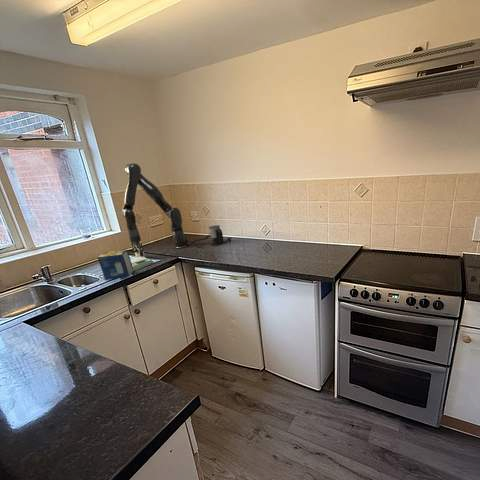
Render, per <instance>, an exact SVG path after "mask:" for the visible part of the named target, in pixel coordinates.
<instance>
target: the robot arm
mask: <svg viewBox="0 0 480 480" xmlns="http://www.w3.org/2000/svg"><path fill="white" fill-rule="evenodd" d="M124 172H125V173H126V175H127V176H128V183H127V186H126V189H125V194H124V201H123V205H122V211H121V212H122V213H121V215H122V216H123V217H124V219H125V222H126V223H125V227H126V230H127V234H128V238H129V241H130V243H131V247H132V250H133V251H134V254H135V253H136V252H140V256H141V257H143V256H144V255H145V254H144V255H143V251H145V250H144V246H143V243H142V242H141V241H142V239H141V234H140V231H139V229H138V225H137V219H136V214H135V211H134V206H135V204H136V197H137V190H138V186H139V187H140V188H141V189H142V191H143V192H144V193H145V194H146V195H147V196H148V197H149V198H150V199H151V200H152V201H153V202H154V203H155V204H156V206H158V207H159V209H161V210H162V211H163V213H164V214H165V216H166V217H167V218H169V219H170V222H171V223H170V225H169V226H170V231H171V234H172V237H173V238H172V239H173V243H174V247H175V249H183V248H186V247H188V246H189V242H190V243H191V244H193V243H195V242H197V241H201V240H205V239H207V238H208V237H209V236H211V235H210V233H209V234H207V235H206V237H204V238H199V239H196V240H193V241H191V240H188V239H187V236H186V234H185V231H184V226H183V218H182V213H181V210H180V208H178V207H175V206H174V207H173V205H171V204H170V203H169V202H168V201H167V200H166V198H165V196H164V194H163V193H162V191H161V190H160V189H159V188H158V186H157V185H156V184H154V183H153V182H151V180H149V179H147V178H146V177H145V176H144V174H143V173H142V168H141V166H140V165H139V164H138V163H134V162H133V163H127V164H126V165H125V167H124Z"/></svg>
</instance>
